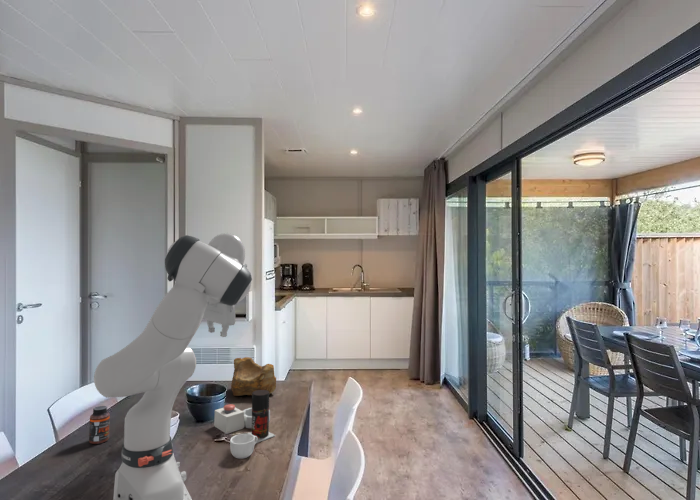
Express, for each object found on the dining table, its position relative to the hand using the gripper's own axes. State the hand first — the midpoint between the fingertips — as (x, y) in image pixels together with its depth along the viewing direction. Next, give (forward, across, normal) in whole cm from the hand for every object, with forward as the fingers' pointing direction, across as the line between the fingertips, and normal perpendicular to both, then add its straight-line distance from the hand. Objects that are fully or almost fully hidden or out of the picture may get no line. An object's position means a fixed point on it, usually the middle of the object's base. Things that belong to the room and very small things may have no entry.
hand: (217, 334), depth 152 cm
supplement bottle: (+36, +18, +33) cm, 52 cm away
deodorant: (+34, -15, -10) cm, 39 cm away
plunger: (+33, -1, -5) cm, 33 cm away
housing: (+35, -3, -11) cm, 36 cm away
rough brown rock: (+36, +26, -29) cm, 53 cm away
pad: (+35, -15, -9) cm, 39 cm away
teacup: (+35, -23, +1) cm, 42 cm away
